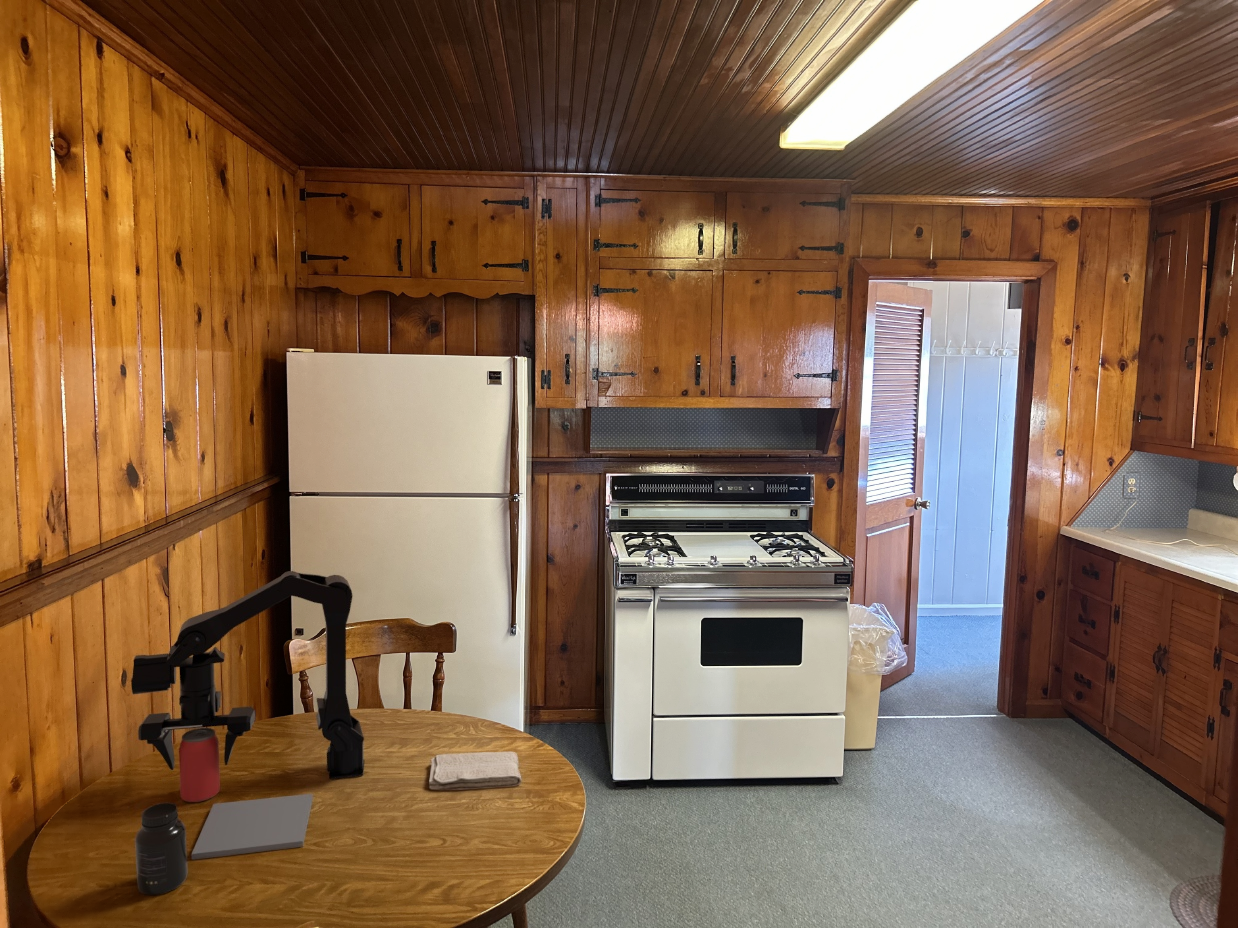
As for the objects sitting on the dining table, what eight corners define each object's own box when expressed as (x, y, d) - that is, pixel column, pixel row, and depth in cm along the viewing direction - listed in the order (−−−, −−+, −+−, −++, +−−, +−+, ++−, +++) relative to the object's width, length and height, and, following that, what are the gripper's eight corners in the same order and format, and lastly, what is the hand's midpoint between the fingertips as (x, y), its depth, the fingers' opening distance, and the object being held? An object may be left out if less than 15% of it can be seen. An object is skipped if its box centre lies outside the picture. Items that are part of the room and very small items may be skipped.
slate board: (312, 798, 151) (312, 793, 151) (302, 846, 136) (302, 840, 135) (213, 808, 146) (213, 803, 146) (191, 859, 131) (191, 853, 131)
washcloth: (430, 765, 166) (430, 751, 166) (517, 759, 169) (518, 745, 169) (428, 794, 154) (428, 779, 154) (521, 788, 158) (522, 773, 157)
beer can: (227, 787, 154) (225, 727, 153) (206, 805, 148) (204, 742, 146) (194, 784, 155) (193, 725, 154) (172, 802, 148) (170, 740, 147)
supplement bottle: (150, 869, 128) (148, 798, 127) (195, 868, 129) (193, 797, 127) (128, 897, 121) (125, 822, 120) (175, 896, 122) (172, 821, 121)
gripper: (259, 667, 159) (260, 742, 161) (154, 674, 154) (156, 751, 156) (248, 688, 149) (250, 768, 150) (135, 696, 144) (139, 779, 145)
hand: (199, 766), depth 151 cm, fingers open, 9 cm apart
